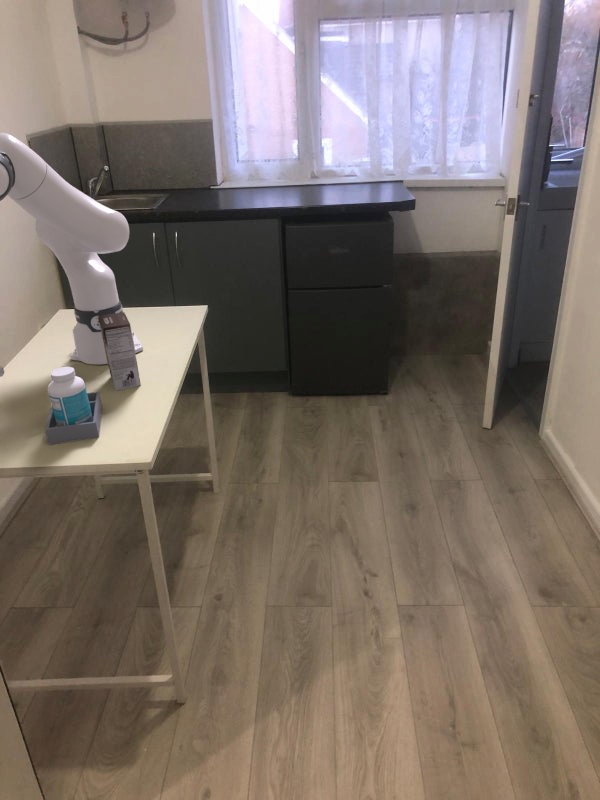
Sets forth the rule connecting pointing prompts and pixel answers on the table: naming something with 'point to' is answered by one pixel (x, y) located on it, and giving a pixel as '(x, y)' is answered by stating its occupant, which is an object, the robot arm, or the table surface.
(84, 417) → the pill bottle
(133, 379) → the coffee box
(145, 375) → the table surface
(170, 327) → the table surface
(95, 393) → the parts tub
